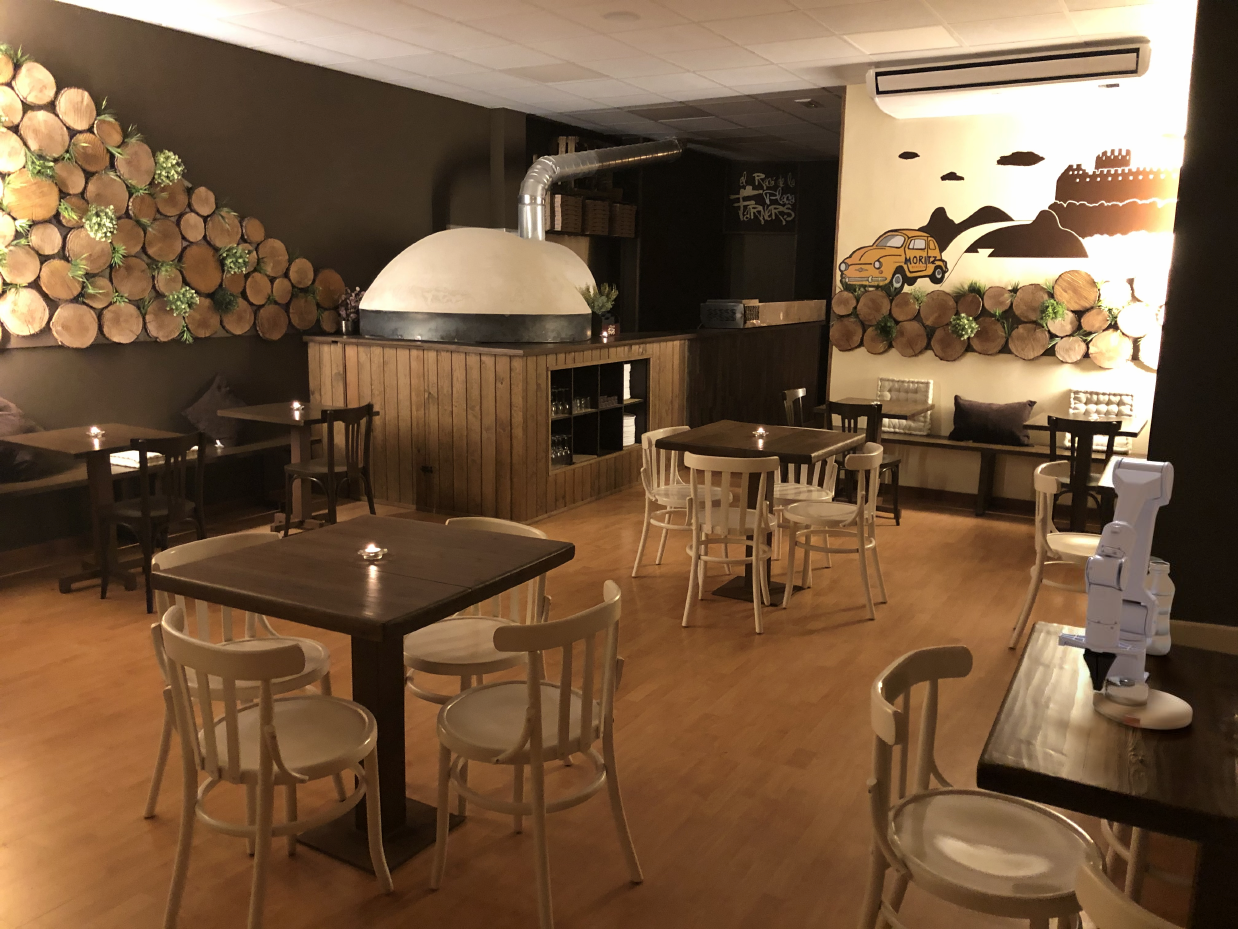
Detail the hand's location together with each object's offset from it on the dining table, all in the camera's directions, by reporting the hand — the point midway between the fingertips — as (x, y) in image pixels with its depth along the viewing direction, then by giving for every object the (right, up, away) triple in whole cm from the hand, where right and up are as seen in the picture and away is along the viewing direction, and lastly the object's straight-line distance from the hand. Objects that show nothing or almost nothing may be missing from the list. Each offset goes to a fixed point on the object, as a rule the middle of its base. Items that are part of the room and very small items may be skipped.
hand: (1097, 689), depth 182 cm
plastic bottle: (+25, +1, +27) cm, 36 cm away
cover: (+4, -1, -3) cm, 5 cm away
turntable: (+6, -4, -4) cm, 8 cm away
